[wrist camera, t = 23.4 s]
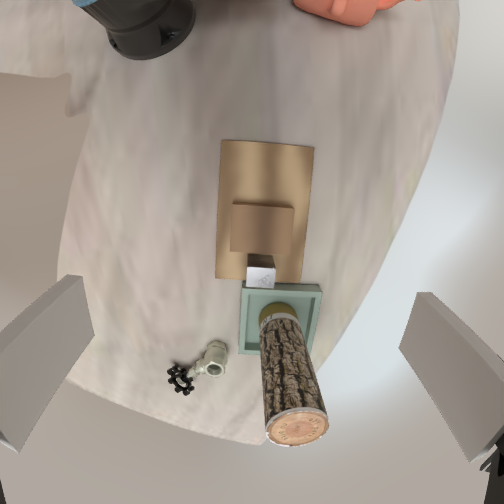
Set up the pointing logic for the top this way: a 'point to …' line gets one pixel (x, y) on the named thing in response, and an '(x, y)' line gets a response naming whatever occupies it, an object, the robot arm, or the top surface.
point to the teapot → (346, 9)
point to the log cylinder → (288, 380)
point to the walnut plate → (261, 228)
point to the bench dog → (260, 271)
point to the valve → (200, 367)
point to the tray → (294, 295)
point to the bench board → (263, 199)
